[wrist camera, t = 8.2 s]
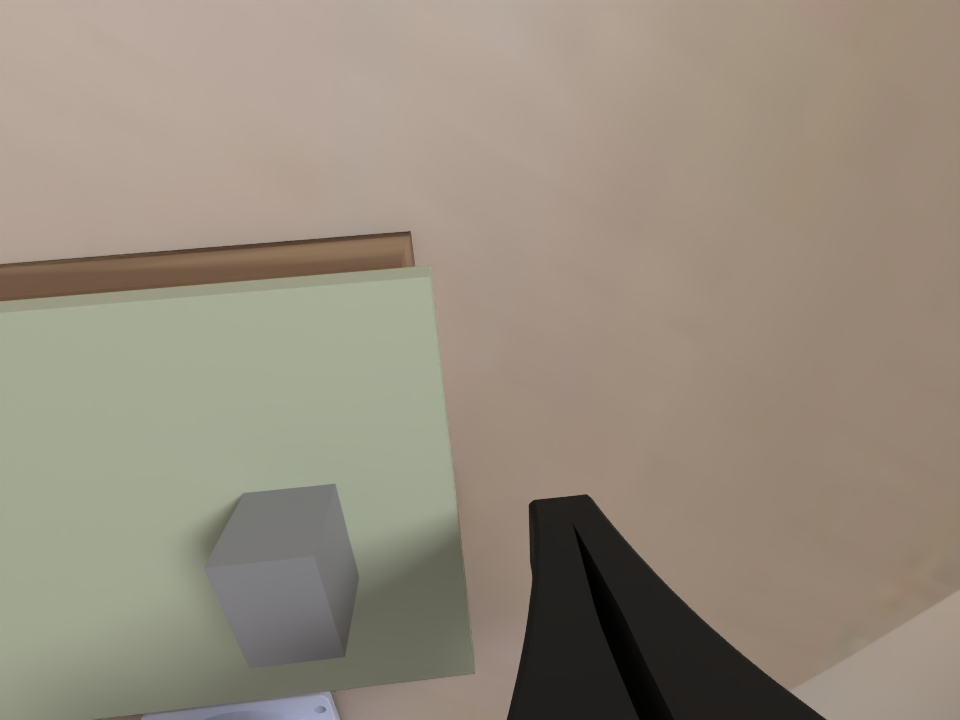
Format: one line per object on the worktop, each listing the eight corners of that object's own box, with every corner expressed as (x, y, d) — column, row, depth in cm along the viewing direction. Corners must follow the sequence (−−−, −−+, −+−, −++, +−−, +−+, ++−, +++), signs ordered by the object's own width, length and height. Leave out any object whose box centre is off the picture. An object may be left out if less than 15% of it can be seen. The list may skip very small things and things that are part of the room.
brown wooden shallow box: (451, 551, 18) (453, 640, 15) (15, 598, 17) (-78, 702, 14) (410, 231, 13) (401, 263, 10) (-217, 281, 12) (-449, 335, 9)
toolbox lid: (467, 566, 17) (480, 754, 12) (-44, 623, 17) (-266, 849, 11) (432, 235, 12) (427, 314, 7) (-321, 296, 11) (-969, 437, 6)
